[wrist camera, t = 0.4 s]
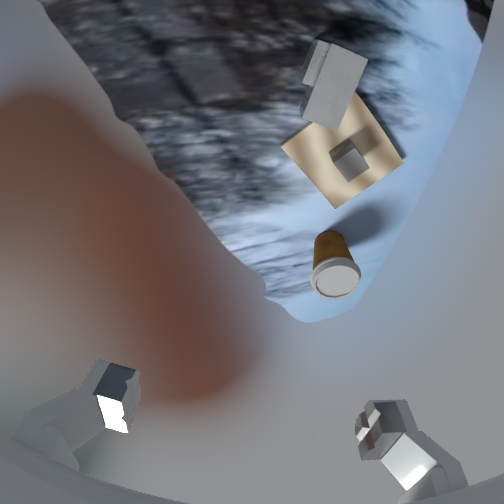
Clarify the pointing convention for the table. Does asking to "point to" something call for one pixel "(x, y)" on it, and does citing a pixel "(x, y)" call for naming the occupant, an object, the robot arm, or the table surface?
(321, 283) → the disposable coffee cup
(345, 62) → the grey stepped block
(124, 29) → the table surface
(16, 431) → the robot arm
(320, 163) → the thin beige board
